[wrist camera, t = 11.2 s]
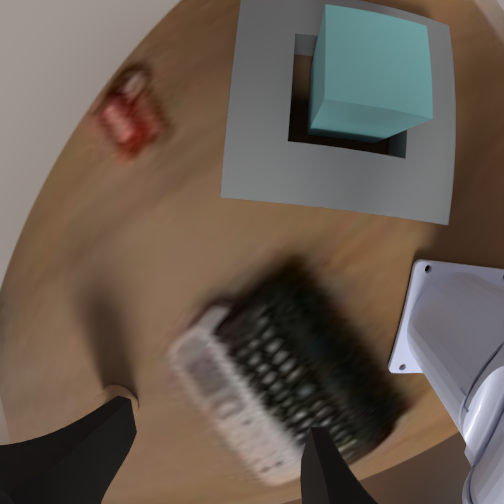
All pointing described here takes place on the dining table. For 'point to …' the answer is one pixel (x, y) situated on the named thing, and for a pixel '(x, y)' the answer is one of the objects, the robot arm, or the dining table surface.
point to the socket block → (326, 157)
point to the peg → (368, 76)
